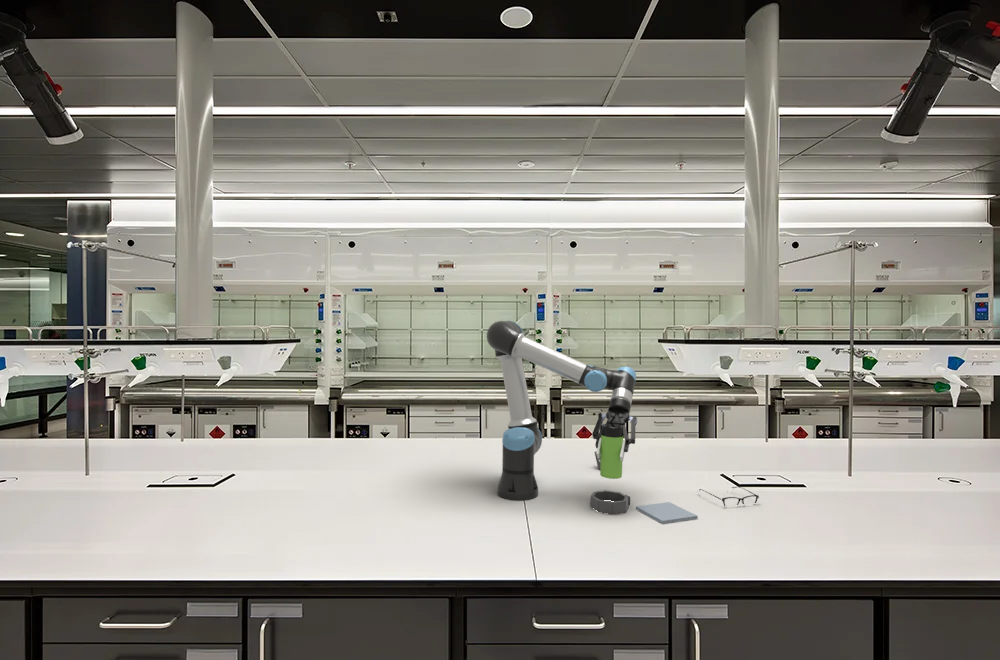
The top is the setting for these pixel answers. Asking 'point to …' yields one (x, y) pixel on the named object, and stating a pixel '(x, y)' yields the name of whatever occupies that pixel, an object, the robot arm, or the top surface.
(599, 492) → the strap ring
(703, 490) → the eyeglasses
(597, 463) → the electrical switch
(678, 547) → the top surface
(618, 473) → the green bottle
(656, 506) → the pad
